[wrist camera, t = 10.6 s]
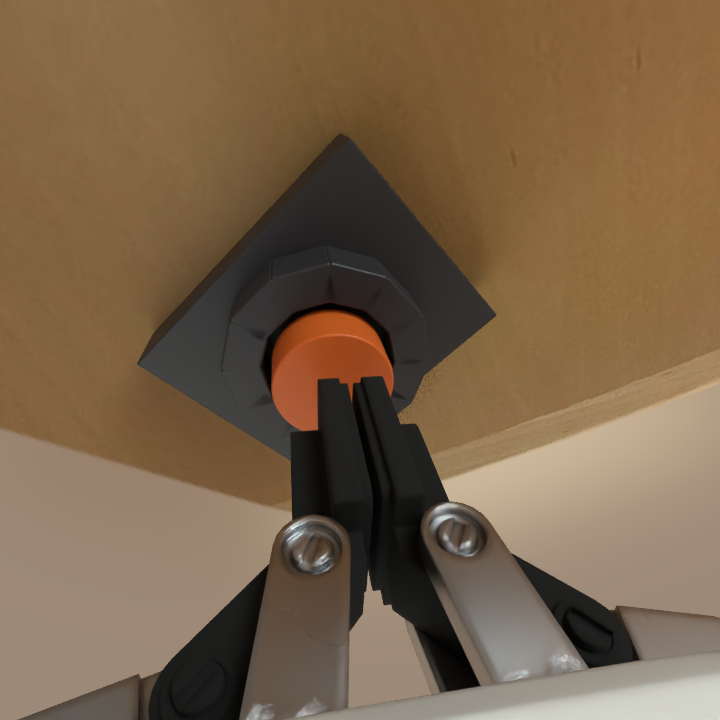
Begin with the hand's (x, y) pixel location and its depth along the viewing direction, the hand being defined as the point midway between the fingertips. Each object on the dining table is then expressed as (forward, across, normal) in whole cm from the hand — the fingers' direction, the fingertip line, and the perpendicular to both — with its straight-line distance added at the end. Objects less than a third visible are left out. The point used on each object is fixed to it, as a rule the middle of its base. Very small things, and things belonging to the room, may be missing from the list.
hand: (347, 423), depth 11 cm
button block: (+7, 0, 0) cm, 7 cm away
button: (+3, 0, 0) cm, 3 cm away
